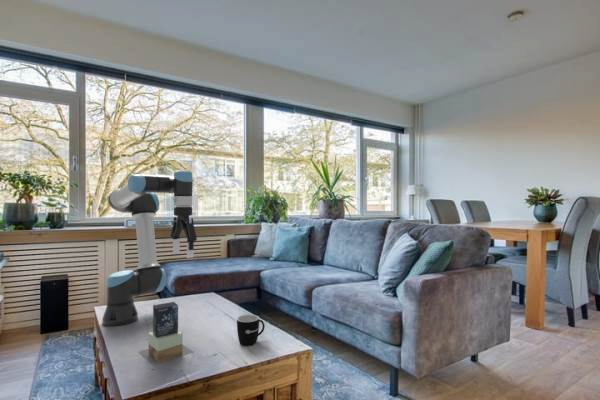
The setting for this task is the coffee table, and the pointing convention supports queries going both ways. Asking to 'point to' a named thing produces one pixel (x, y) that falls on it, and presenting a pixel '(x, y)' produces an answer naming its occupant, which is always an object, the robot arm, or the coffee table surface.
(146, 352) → the felt mat
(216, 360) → the coffee table surface
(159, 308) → the box
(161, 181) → the robot arm
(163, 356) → the tower bottom
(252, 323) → the mug
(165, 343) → the tower top
